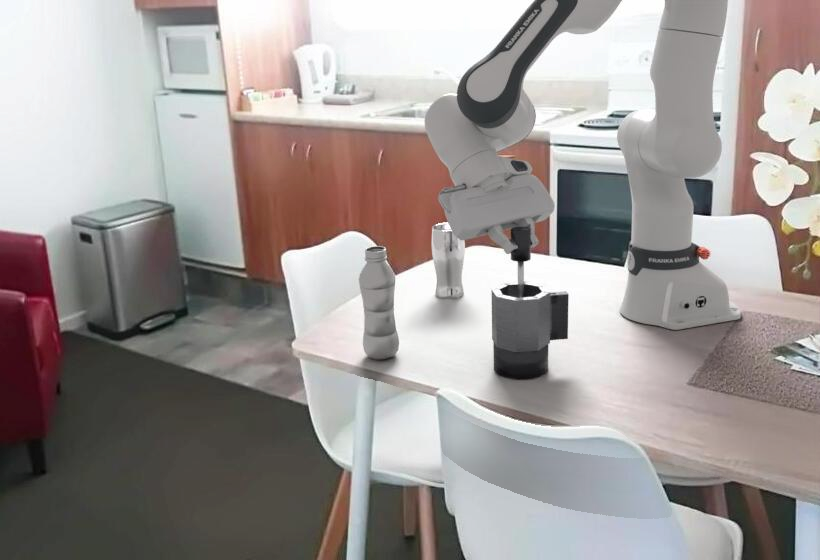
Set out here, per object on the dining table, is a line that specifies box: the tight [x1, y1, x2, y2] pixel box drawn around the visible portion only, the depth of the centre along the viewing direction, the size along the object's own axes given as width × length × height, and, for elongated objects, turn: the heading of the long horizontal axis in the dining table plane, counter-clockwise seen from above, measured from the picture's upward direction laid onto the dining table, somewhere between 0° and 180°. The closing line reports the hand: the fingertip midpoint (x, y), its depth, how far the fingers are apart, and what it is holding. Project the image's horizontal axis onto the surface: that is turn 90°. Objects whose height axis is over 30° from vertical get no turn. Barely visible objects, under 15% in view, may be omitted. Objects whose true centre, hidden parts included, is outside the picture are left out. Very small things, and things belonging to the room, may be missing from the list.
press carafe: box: [491, 280, 569, 381], centre depth 143 cm, size 12×9×14 cm
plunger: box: [510, 227, 532, 298], centre depth 140 cm, size 5×5×14 cm
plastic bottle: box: [358, 245, 400, 360], centre depth 150 cm, size 6×7×20 cm
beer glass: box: [431, 222, 466, 300], centre depth 180 cm, size 7×7×15 cm
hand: (523, 248), depth 138 cm, fingers closed on plunger, 3 cm apart
